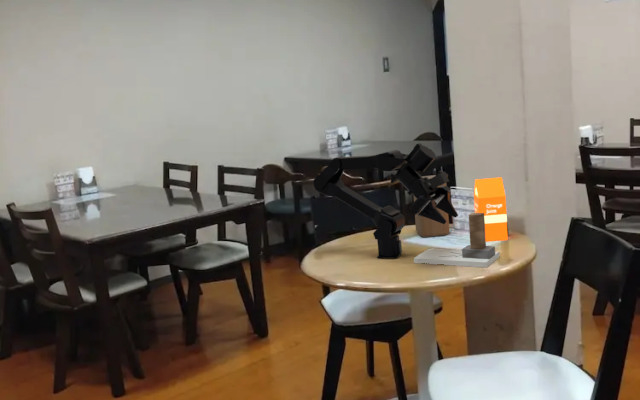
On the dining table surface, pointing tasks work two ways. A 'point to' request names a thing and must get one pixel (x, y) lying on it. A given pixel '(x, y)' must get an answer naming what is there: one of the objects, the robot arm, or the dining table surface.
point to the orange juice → (492, 207)
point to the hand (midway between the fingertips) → (451, 219)
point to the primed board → (452, 258)
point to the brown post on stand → (477, 239)
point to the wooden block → (431, 222)
